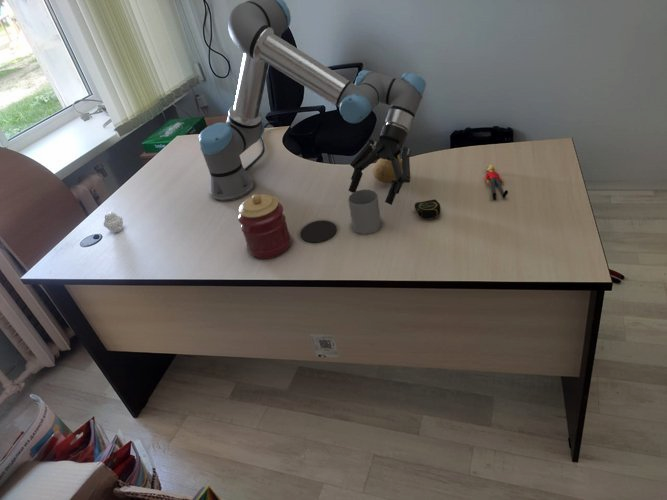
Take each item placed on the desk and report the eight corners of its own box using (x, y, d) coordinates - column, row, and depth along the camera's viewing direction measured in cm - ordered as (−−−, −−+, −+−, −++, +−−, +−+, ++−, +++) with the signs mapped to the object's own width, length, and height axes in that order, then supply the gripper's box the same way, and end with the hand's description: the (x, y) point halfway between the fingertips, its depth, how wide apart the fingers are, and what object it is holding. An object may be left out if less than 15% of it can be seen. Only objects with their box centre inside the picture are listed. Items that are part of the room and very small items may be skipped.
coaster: (297, 227, 146) (296, 226, 146) (331, 217, 148) (331, 216, 148) (305, 247, 138) (304, 245, 138) (341, 236, 139) (340, 235, 139)
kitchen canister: (274, 264, 134) (258, 211, 123) (239, 254, 140) (222, 203, 129) (300, 237, 142) (287, 186, 131) (266, 229, 148) (252, 180, 138)
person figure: (493, 187, 139) (485, 158, 153) (488, 198, 142) (481, 169, 156) (510, 191, 139) (500, 161, 153) (504, 202, 142) (496, 172, 156)
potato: (408, 168, 165) (406, 147, 160) (397, 190, 155) (396, 168, 150) (381, 167, 168) (379, 147, 164) (369, 188, 158) (366, 167, 154)
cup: (384, 218, 143) (380, 190, 137) (377, 234, 137) (373, 205, 131) (357, 217, 146) (353, 189, 140) (349, 232, 140) (344, 204, 134)
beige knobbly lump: (108, 229, 164) (99, 212, 160) (126, 222, 166) (117, 205, 161) (108, 237, 159) (99, 220, 155) (127, 231, 161) (118, 214, 157)
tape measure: (437, 207, 143) (436, 196, 141) (443, 219, 138) (443, 208, 136) (414, 211, 144) (414, 200, 141) (420, 223, 138) (419, 212, 136)
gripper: (438, 140, 132) (411, 212, 133) (369, 126, 147) (344, 191, 148) (427, 130, 126) (398, 205, 127) (355, 116, 141) (330, 184, 142)
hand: (369, 197), depth 138 cm, fingers open, 13 cm apart
